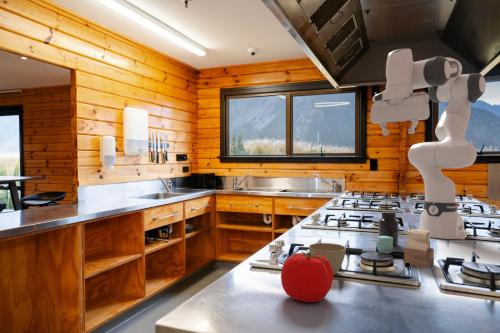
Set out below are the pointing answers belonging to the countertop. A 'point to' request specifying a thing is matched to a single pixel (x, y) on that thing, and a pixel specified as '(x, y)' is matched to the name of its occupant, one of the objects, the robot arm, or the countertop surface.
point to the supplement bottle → (389, 226)
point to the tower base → (419, 257)
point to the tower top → (418, 240)
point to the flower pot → (330, 253)
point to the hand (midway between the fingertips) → (398, 134)
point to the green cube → (385, 244)
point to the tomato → (307, 277)
